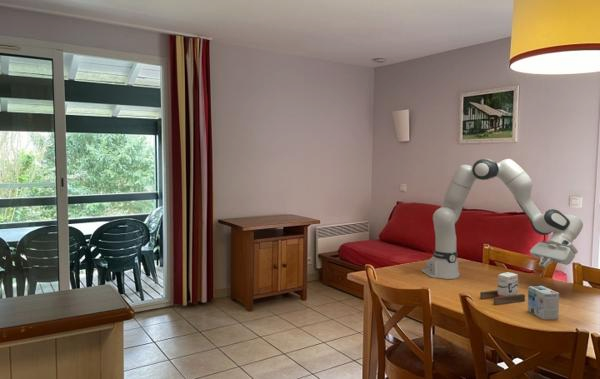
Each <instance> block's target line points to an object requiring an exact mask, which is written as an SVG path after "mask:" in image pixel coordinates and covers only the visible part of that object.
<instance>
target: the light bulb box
mask: <svg viewBox="0 0 600 379" xmlns="http://www.w3.org/2000/svg"><path fill="white" fill-rule="evenodd" d="M559 308H560V293H559V292H558V291H555V290H552V289H551V288H548V287H546V286H544V285H536V286H535V285H532V286H528V291H527V312H529V313H531V314H533V315H535V316H536V317H538V318H539V319H542V320H546V321H547V320H559V312H560V311H559V310H560V309H559Z"/></svg>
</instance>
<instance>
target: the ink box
mask: <svg viewBox="0 0 600 379" xmlns="http://www.w3.org/2000/svg"><path fill="white" fill-rule="evenodd" d="M518 282H519V274H518V273H514V272H510V271H507V272H503V273H499V274H497V290H498V297H502V296H510V295H518V284H519V283H518Z"/></svg>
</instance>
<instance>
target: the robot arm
mask: <svg viewBox="0 0 600 379" xmlns="http://www.w3.org/2000/svg"><path fill="white" fill-rule="evenodd" d="M494 178H499V179H500V180H501V181H502V183H504V185H505V186H506V187H507V188H508V190H509V191H510V192H511V194H512V196H513V197H514V200H516V202H517V204H518V206H519V208H520V209H522V211H523V212H524V214H525V216H526V217H527V218H528V220H529V222H530V225H531V227H532V229H533V231H534V232H535V233H536V234H538V235H541V236H547V235H550V234H551V233H552V235H551V237H549V239H548V240H547V241H544V240H541V241H538V242H537V243H536V244H534V246H532V247H531V249H530V250H529V253H530V255H531V256H532V257H533V258H538V259H540V262H539V263H538V265H539V266H540V267H541V268H547V267H548V266H549V265H551V264H553V262H554V263H558V264H562V265H566V266H567V265H570V264H571V263H572V262H573V261H574V259H575V258H576V254H578V249H577V248H576V246H574V244H573V242H574V240H576V239H577V238H578V236H579V235H580V234H581V232H582V229H583V227H584V224H583V221H582V219H581V218H579V217H578V216H577V215H575V214H567V213H563V212H561V211H560V210H557V209H554V208H552V209H547V211H544V212H543V213H542V212H541V211H540V210H539V208H538V207H537V206H536V204H535V203H534V202H533V200H532V197H531V193H532V189H533V180H532V179H531V177H530V176H529V174H528V173H527V172H526V171H525V170H524V169H523V168H522V167H521V166H520V165H519V164H518V163H517V162H515V161H514V160H513V159H511V158H505V159H503V160H501V161H500V162H496V161H495V160H493V159H490V158H482V159H478V160H477V161H475V162H474V163H473V164H472V165H469V164H462V165H459V166H458V167H457V170H456V171H455V172H454V174H453V175H452V177H451V179H450V181H449V184H448V186H447V189H446V191H445V193H444V197H443V201H442V203H441V206H440V207H439V208H437V209H436V210H435V211H434V213H433V215H432V221H433V229H434V235H435V250H433V251H432V253H433V255H432V257H431V258H429V259H427V261H425V267H424V268H422V269H421V272H422V273H423V272H424V274H425V275H427V276H428V277H430V278H434V279H445V280H446V279H447V280H453V279H459V278H460V275H461V273H460V270H459V261H458V259H457V258H458V251H457V234H456V228H455V227H456V223H457V221H458V220H459V218H460V216H461V214H462V211H463V208H464V205H465V203H466V199H467V198H468V196H469V194H470V191H471V189H472V187H473V185H474V183H475V181H476V180H481V181H489V180H491V179H494Z"/></svg>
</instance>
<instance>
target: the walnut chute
mask: <svg viewBox="0 0 600 379" xmlns="http://www.w3.org/2000/svg"><path fill="white" fill-rule="evenodd" d="M479 296H480V297H479V299H480V300H488V299H489V300H490V299H493V305H495V306H499V305H501V306H502V305H507V304H513V303H515V304H516V303H522V302H525V301H526V294H524V293H517V295H510V296H502V297H498V289H494V290H487V291H486V290H485V291H480V294H479Z"/></svg>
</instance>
